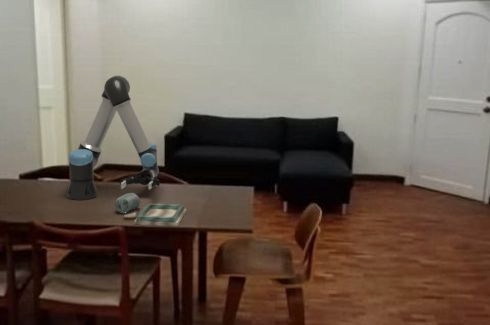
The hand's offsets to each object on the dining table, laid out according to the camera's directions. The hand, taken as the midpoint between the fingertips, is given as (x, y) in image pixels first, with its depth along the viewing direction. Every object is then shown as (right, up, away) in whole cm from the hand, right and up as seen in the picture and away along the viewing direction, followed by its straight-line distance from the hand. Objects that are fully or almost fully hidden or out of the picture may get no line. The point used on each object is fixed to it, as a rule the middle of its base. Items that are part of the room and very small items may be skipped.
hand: (135, 186), depth 267 cm
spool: (-2, -11, -8) cm, 14 cm away
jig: (+15, -13, -18) cm, 28 cm away
